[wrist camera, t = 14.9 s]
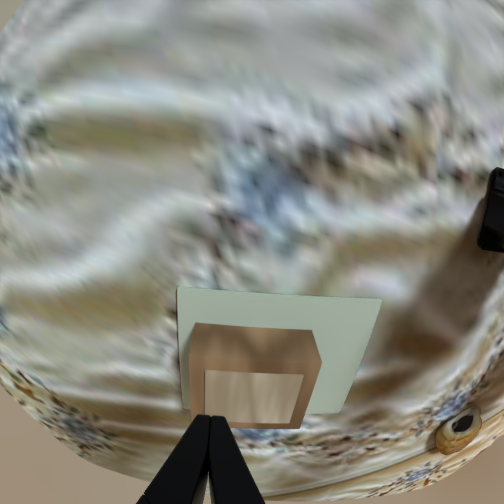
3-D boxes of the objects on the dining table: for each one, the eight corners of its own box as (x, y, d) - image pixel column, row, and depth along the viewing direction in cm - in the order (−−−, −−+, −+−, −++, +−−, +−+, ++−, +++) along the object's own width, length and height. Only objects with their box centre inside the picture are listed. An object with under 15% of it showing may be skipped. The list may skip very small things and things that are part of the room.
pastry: (468, 432, 31) (478, 450, 28) (429, 452, 32) (438, 472, 29) (477, 399, 28) (490, 419, 24) (433, 423, 29) (444, 446, 25)
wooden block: (322, 364, 18) (188, 357, 17) (299, 430, 20) (191, 426, 20) (311, 329, 21) (195, 322, 21) (293, 396, 24) (195, 391, 23)
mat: (379, 298, 21) (382, 301, 21) (338, 409, 25) (339, 412, 25) (178, 286, 20) (177, 289, 20) (183, 405, 24) (182, 408, 24)
